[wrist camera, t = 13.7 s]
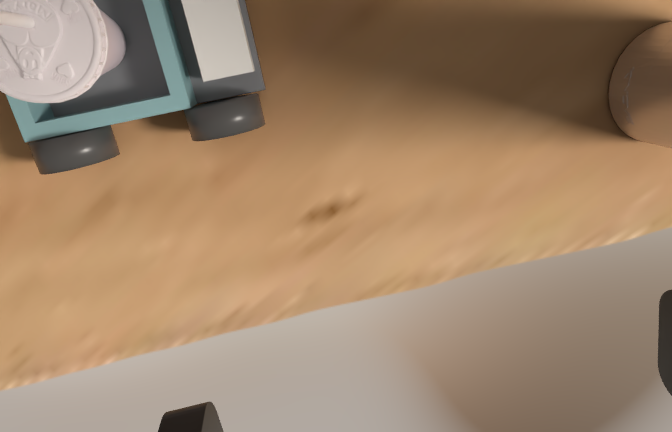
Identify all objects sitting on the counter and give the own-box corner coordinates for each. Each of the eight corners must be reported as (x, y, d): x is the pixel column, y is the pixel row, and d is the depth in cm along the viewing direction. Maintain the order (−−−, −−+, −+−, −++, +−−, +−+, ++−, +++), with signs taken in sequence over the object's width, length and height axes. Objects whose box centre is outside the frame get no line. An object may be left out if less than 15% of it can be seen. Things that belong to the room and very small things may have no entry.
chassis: (219, -110, 32) (210, -139, 27) (272, 117, 36) (272, 127, 32) (-38, -64, 31) (-93, -85, 26) (51, 164, 35) (17, 181, 31)
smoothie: (147, -5, 32) (64, -51, 19) (147, 97, 34) (72, 120, 21) (40, -18, 31) (-127, -76, 18) (46, 88, 33) (-101, 106, 20)
